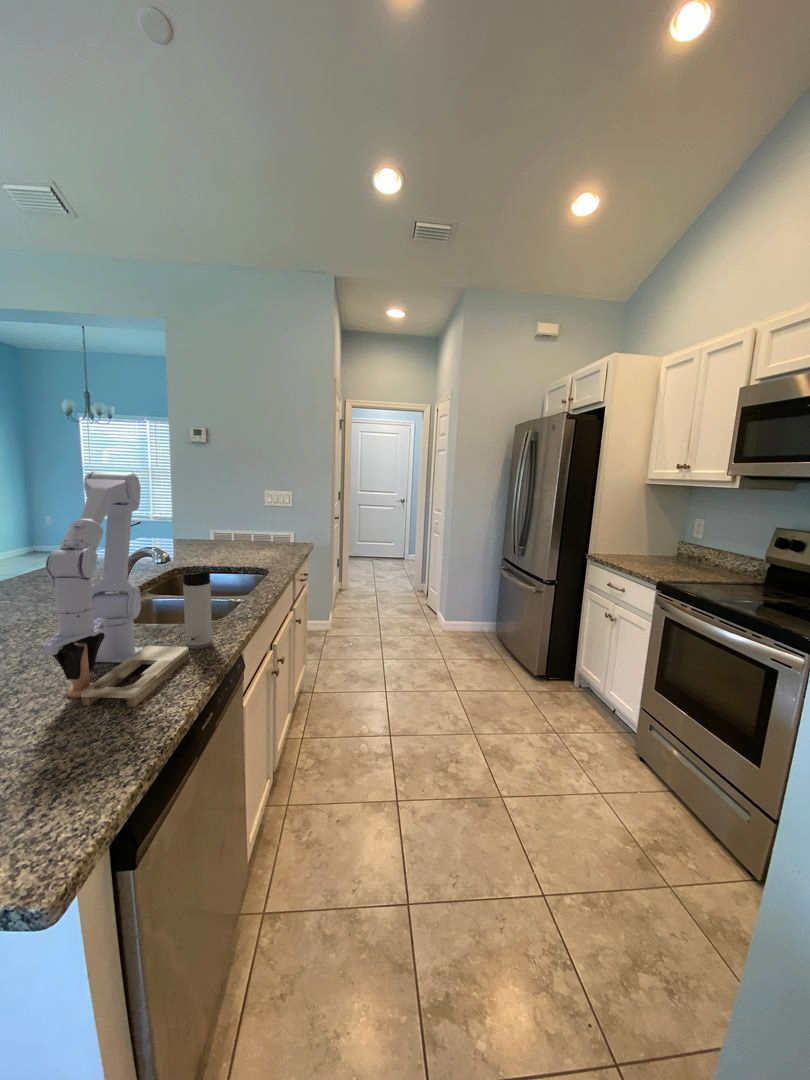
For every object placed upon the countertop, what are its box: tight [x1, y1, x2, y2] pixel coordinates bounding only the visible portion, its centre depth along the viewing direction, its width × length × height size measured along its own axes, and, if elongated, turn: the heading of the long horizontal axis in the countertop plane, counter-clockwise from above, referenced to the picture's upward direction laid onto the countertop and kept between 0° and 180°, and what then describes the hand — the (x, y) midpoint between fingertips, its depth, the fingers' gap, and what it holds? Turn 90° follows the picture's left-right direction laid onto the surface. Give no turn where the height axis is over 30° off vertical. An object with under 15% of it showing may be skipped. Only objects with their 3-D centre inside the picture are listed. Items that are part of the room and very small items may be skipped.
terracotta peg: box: [67, 643, 94, 698], centre depth 87 cm, size 4×4×10 cm
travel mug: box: [182, 570, 213, 650], centre depth 111 cm, size 6×7×20 cm
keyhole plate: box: [80, 645, 190, 708], centre depth 94 cm, size 10×22×3 cm, turn 1°
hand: (80, 673), depth 87 cm, fingers open, 3 cm apart
